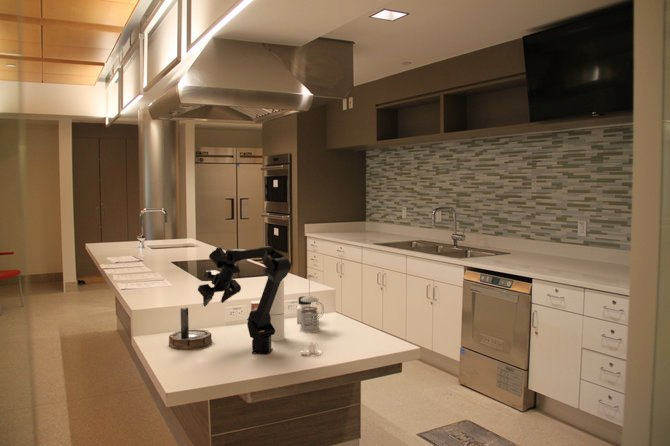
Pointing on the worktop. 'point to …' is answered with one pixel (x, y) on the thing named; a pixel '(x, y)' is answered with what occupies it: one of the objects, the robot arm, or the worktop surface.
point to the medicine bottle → (299, 309)
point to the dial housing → (190, 341)
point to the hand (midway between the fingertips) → (213, 303)
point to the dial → (187, 328)
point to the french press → (310, 326)
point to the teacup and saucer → (311, 349)
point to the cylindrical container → (278, 314)
